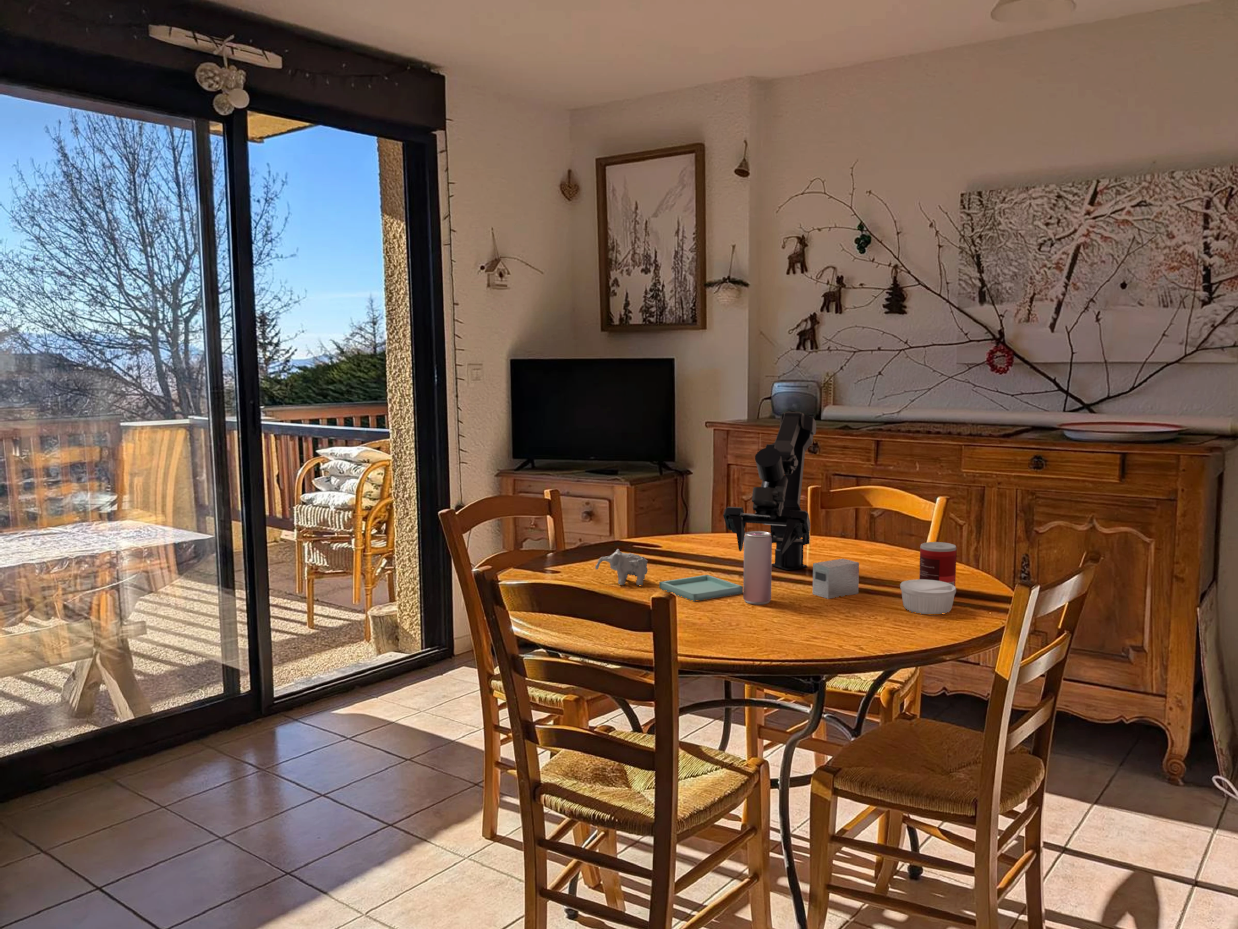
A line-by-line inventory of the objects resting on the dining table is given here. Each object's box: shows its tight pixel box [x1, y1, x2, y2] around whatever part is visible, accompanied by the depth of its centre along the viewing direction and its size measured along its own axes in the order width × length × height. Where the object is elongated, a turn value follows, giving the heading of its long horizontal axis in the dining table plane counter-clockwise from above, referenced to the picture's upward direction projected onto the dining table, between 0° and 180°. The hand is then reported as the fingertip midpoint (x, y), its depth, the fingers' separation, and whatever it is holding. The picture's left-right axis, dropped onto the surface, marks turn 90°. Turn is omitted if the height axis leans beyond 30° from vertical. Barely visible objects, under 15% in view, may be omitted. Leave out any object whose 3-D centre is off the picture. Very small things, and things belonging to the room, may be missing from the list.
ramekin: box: [899, 579, 957, 615], centre depth 207 cm, size 11×11×5 cm
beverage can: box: [742, 530, 773, 606], centre depth 214 cm, size 6×6×15 cm
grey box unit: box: [812, 558, 860, 600], centre depth 220 cm, size 10×5×7 cm, turn 121°
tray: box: [658, 574, 743, 602], centre depth 224 cm, size 14×14×2 cm
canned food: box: [919, 541, 957, 587], centre depth 220 cm, size 8×8×11 cm
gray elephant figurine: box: [595, 548, 648, 586], centre depth 231 cm, size 9×12×8 cm
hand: (760, 551), depth 216 cm, fingers open, 9 cm apart
